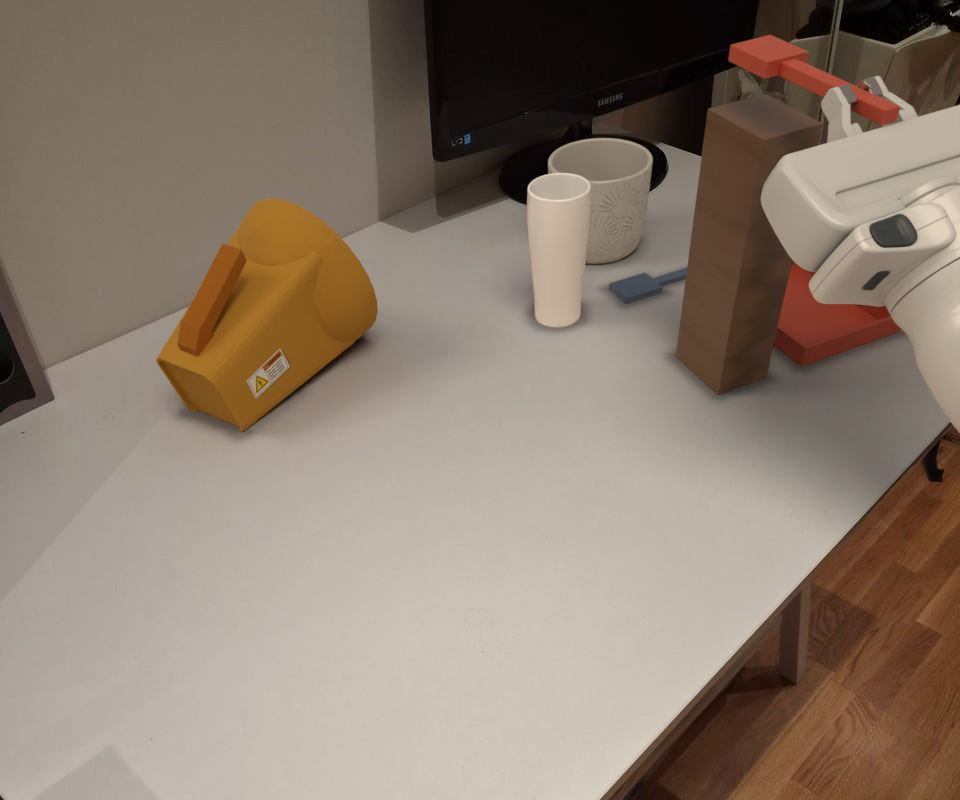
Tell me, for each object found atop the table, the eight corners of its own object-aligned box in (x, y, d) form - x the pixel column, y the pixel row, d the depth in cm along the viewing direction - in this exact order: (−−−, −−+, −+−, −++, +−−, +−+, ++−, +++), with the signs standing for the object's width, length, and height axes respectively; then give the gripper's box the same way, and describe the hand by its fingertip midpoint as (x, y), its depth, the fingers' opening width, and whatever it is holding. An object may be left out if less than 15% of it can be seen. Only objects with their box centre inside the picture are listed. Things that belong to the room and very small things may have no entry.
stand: (720, 345, 96) (764, 93, 77) (765, 382, 91) (823, 123, 72) (674, 361, 95) (707, 108, 75) (717, 399, 90) (763, 140, 71)
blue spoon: (608, 292, 104) (609, 283, 103) (727, 255, 108) (728, 246, 107) (625, 308, 102) (626, 298, 101) (746, 269, 106) (748, 260, 105)
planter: (638, 276, 106) (646, 184, 98) (539, 270, 109) (538, 179, 100) (650, 228, 114) (658, 138, 105) (557, 223, 116) (557, 135, 108)
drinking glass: (596, 325, 100) (603, 191, 88) (543, 340, 99) (542, 206, 87) (571, 298, 104) (574, 166, 92) (519, 312, 103) (516, 180, 91)
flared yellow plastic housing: (285, 310, 106) (221, 178, 90) (396, 347, 99) (346, 211, 84) (183, 428, 100) (95, 308, 84) (293, 476, 93) (220, 355, 78)
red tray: (794, 264, 106) (798, 243, 104) (899, 335, 95) (906, 313, 93) (702, 293, 103) (705, 272, 101) (800, 370, 92) (805, 348, 90)
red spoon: (767, 50, 73) (770, 34, 72) (911, 117, 63) (916, 98, 62) (727, 61, 72) (730, 44, 72) (866, 129, 62) (871, 111, 61)
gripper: (1076, 180, 62) (986, 22, 64) (845, 254, 58) (755, 83, 60) (1010, 237, 68) (930, 91, 70) (797, 308, 64) (717, 151, 66)
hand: (848, 88), depth 65 cm, fingers closed on red spoon, 1 cm apart
